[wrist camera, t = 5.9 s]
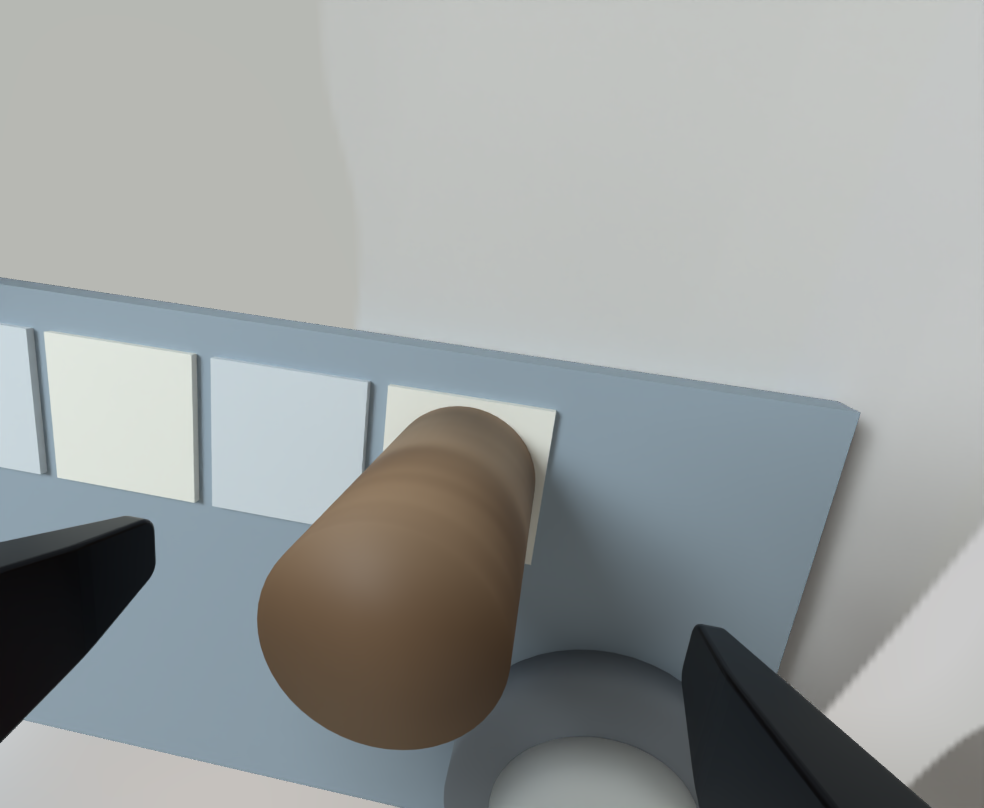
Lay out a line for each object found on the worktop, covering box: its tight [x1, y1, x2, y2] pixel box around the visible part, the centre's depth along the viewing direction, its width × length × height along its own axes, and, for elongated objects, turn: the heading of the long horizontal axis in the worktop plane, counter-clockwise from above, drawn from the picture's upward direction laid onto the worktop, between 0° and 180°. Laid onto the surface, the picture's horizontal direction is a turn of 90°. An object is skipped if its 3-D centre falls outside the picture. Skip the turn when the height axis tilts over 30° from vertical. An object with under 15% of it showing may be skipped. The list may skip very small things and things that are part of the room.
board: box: [0, 277, 860, 808], centre depth 15 cm, size 15×24×2 cm, turn 83°
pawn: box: [257, 406, 535, 750], centre depth 10 cm, size 4×4×6 cm
